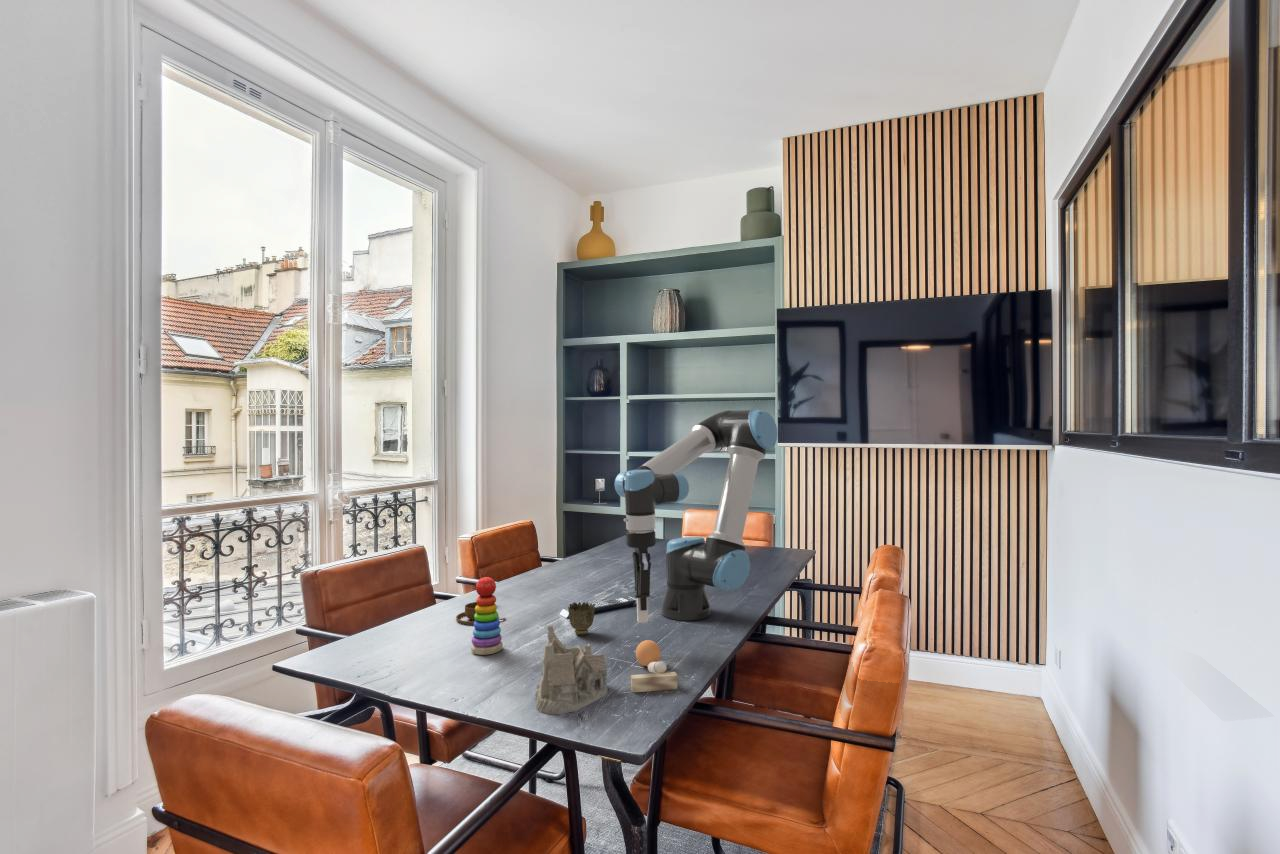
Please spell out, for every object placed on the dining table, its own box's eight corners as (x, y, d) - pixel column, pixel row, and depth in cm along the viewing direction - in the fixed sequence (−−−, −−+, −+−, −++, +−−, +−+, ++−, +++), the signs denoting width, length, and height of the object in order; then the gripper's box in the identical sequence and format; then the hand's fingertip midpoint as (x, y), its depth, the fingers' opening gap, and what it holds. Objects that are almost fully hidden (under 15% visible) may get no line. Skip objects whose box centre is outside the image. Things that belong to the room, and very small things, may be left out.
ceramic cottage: (529, 714, 126) (534, 638, 127) (538, 683, 143) (543, 617, 143) (607, 717, 127) (611, 642, 127) (607, 687, 143) (611, 620, 144)
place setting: (439, 622, 187) (439, 602, 187) (485, 605, 205) (485, 587, 205) (485, 631, 179) (485, 610, 179) (528, 612, 197) (528, 593, 197)
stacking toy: (508, 647, 165) (508, 575, 165) (491, 657, 157) (491, 582, 157) (482, 643, 167) (482, 573, 167) (464, 654, 160) (464, 580, 160)
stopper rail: (675, 685, 140) (675, 671, 140) (677, 688, 138) (677, 675, 138) (630, 688, 138) (630, 675, 138) (632, 692, 137) (632, 678, 137)
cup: (590, 639, 170) (590, 609, 170) (564, 637, 172) (564, 608, 172) (598, 630, 177) (598, 602, 177) (572, 629, 179) (572, 600, 179)
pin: (657, 661, 148) (666, 660, 141) (658, 673, 148) (667, 672, 140) (647, 661, 148) (655, 661, 140) (647, 673, 147) (656, 673, 139)
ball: (664, 665, 148) (658, 666, 154) (662, 638, 151) (656, 640, 156) (639, 667, 147) (634, 667, 153) (637, 640, 149) (632, 641, 155)
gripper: (622, 526, 168) (624, 614, 168) (630, 536, 155) (632, 631, 156) (650, 525, 169) (652, 612, 170) (660, 534, 156) (662, 628, 157)
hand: (642, 621), depth 163 cm, fingers closed
